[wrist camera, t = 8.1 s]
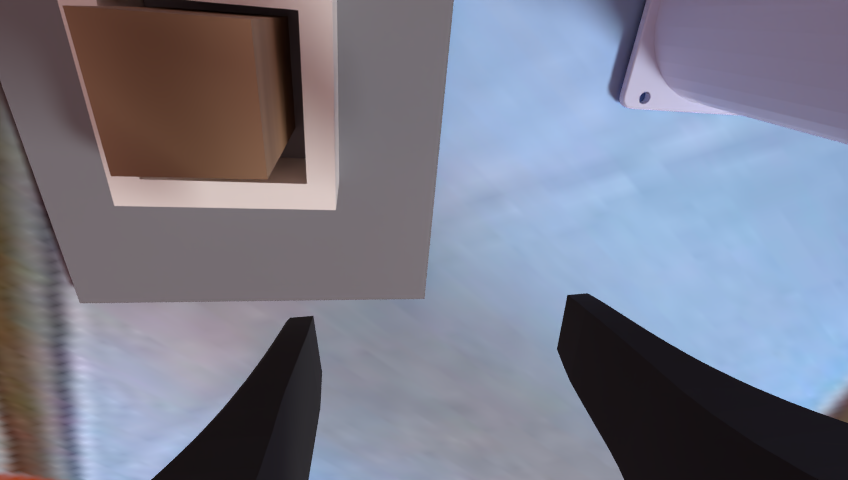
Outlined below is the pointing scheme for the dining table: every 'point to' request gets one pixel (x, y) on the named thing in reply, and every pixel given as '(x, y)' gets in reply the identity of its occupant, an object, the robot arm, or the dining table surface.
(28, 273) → the dining table surface
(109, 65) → the brown rectangular block
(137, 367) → the dining table surface
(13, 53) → the socket
